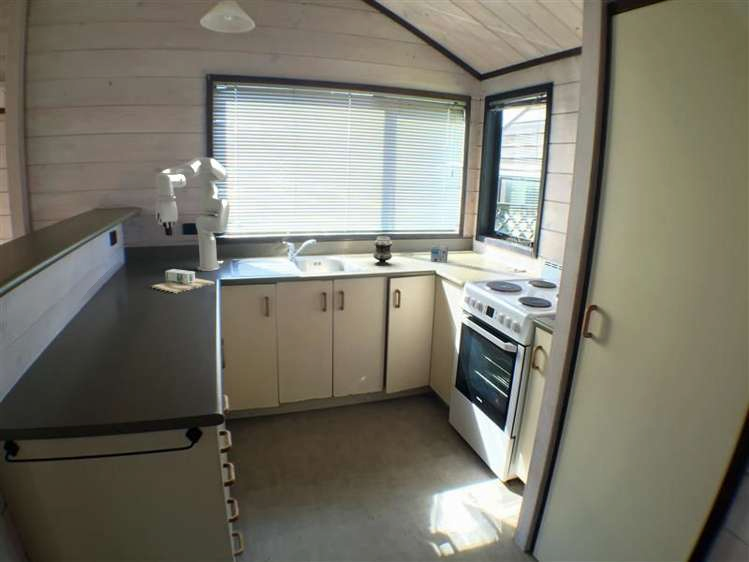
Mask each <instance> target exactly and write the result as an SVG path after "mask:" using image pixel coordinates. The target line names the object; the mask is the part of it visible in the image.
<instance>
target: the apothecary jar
mask: <svg viewBox="0 0 749 562" xmlns="http://www.w3.org/2000/svg"><path fill="white" fill-rule="evenodd" d="M373 245H374V246H375V252H374V253H373V258H374V259H375V260H376V261H377V262H374V265H376V266H380V267H381V266H382V267H386V266H387V267H388V266H390V262H387V261H390V260H391V259H392V257H393V254H391V247H392V245H393V241H392V240H391V238H390V236H385V235H384V236H383V235H381V236H380V235H379V236H377V237H376V240H374V242H373Z"/></svg>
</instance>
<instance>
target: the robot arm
mask: <svg viewBox="0 0 749 562" xmlns="http://www.w3.org/2000/svg"><path fill="white" fill-rule="evenodd" d="M196 177H198V179H199V180H200V182H201V185H202V188H203V193H202V199H201V206H200V207H201V208H200V209H201V212H202V213H204V214H205V215H200V216H198V217H197V218H196V220H195V227H196V231H197V235H198V236H197V237H198V250H199V266H197V270H198V271H200V270H201V272H212V271H218V270H220V269H221V266H220V265H224V264H223V263H224V260H218V257H217V256H218V255H217V240H216V237H215V235H214V233H218V234H223V233H225V232H226V230H227V227H228V222H229V215H230V203H229V201H228V200H227V199H226V198H221V197H220V198H219V193H220V192H219V188H218V186H217V185H216V182H217V183H223V182H226V181H227V179H228V171H227V169H226V168H225V166H223V165H222V164H221V163H220V162H219V161H217V160H216V159H215V158H213V157H202V156H201V157H200V156H199V157H194V158H193V159H191V160H189V161H188V162H186V163H184V164H179V165H177V166H173V167H169V168H166V169H164V170H162V171H161V172H159V173H157V174H156V175H155V181H156V182H155V183H156V193H157V201H156V203H155V204H156V205H155V220H156V222H157V225H160V226H163V228H164V234H165V236H166V237H167V236H168V237H169V236H170V237H171V236H173V227H174V225H175V224H177V223H178V221H179V220H178V219H179V214H178V213H179V212H178V207H177V203H176V201H175V200H176V198H177V197H176V195H175V193H174V189H183V188H184V187H185V186H186V185H187V181H191V180H193V179H195V178H196ZM206 214H207V215H206ZM216 215H217V216H216Z"/></svg>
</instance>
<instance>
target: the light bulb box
mask: <svg viewBox="0 0 749 562" xmlns="http://www.w3.org/2000/svg"><path fill="white" fill-rule="evenodd" d="M430 250H431V251H430V262H432V263H442V264H443V263H445V264H446V263H447V262H448V256H449V255H448V253H449V245H443V244H442V245H440V244H432V245H431V249H430Z"/></svg>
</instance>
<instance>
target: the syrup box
mask: <svg viewBox="0 0 749 562" xmlns="http://www.w3.org/2000/svg"><path fill="white" fill-rule="evenodd" d="M164 272H165V283H166V282H173V283H180V284H192V283H195V278H196V272H195V271H191V270H183V269H175V268H172V269H168V270H165V271H164Z"/></svg>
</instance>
